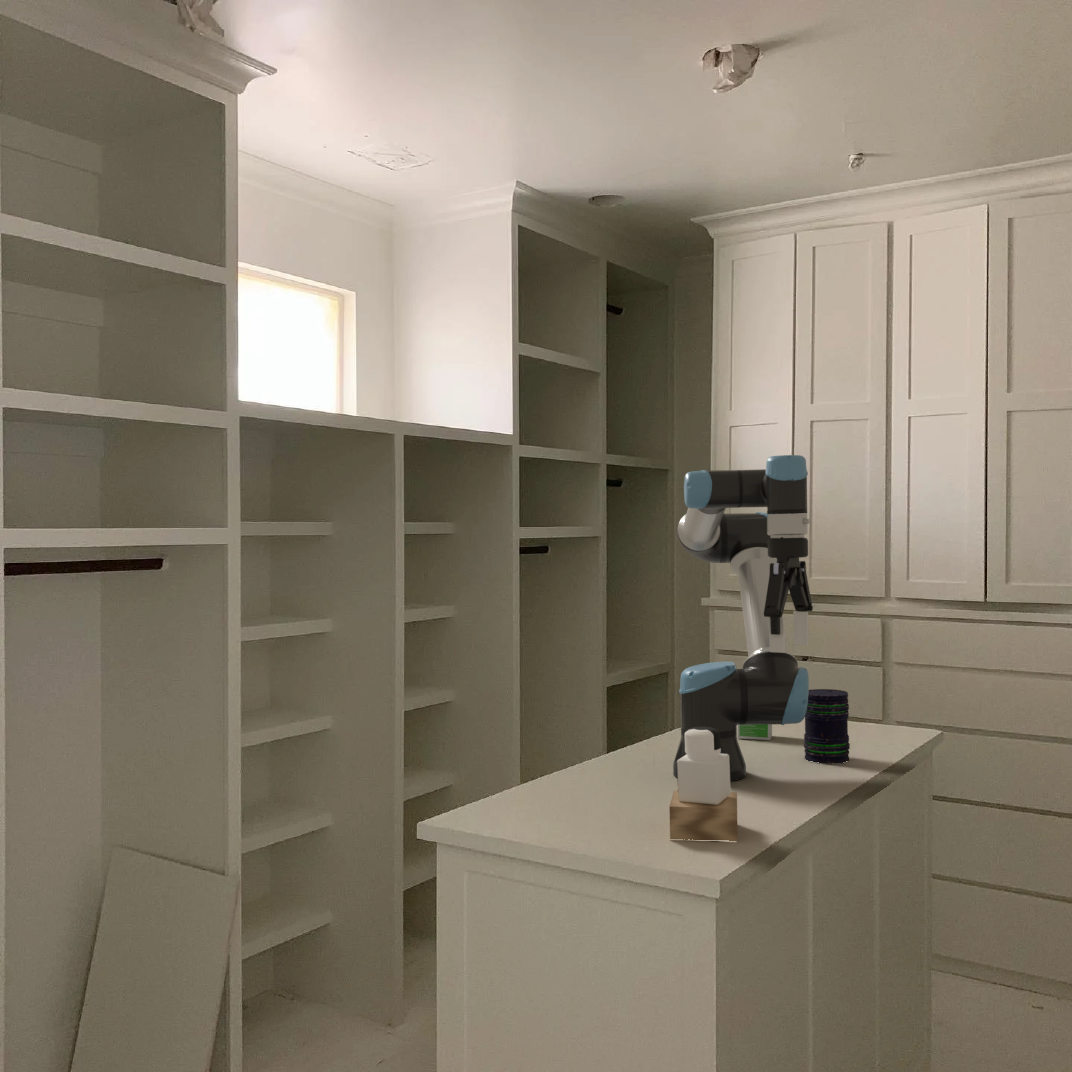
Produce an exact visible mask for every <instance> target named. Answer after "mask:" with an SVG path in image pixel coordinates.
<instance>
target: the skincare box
mask: <svg viewBox="0 0 1072 1072" xmlns="http://www.w3.org/2000/svg"><path fill="white" fill-rule="evenodd" d="M772 736H773V724H760V725H737V739H741V740H754V741H755V740H757V741H759V740H760V741H771V738H772Z"/></svg>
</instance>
